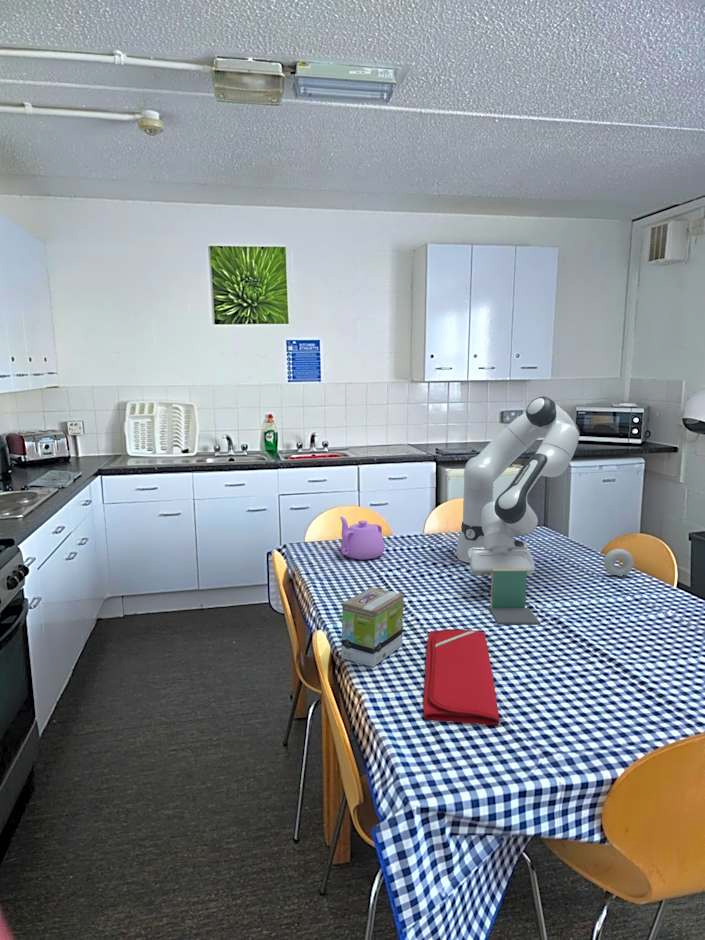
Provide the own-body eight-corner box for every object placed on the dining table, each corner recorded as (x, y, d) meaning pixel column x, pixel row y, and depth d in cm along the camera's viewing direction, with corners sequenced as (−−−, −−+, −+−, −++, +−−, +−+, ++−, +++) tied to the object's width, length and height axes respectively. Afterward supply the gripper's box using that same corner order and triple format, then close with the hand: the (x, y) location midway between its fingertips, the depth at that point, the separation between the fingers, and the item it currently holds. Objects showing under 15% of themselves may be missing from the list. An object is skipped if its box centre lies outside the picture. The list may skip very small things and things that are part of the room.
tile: (490, 606, 193) (491, 568, 191) (523, 606, 193) (524, 568, 191) (492, 609, 191) (493, 571, 189) (525, 609, 191) (526, 571, 189)
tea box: (375, 668, 153) (375, 610, 150) (340, 659, 158) (340, 602, 156) (403, 646, 165) (404, 592, 163) (370, 637, 171) (370, 585, 168)
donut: (604, 577, 220) (606, 549, 218) (601, 574, 223) (603, 547, 221) (634, 578, 219) (636, 550, 217) (631, 575, 222) (632, 547, 220)
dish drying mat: (422, 722, 130) (422, 705, 130) (427, 639, 170) (427, 626, 170) (499, 728, 128) (500, 711, 127) (486, 643, 168) (486, 629, 168)
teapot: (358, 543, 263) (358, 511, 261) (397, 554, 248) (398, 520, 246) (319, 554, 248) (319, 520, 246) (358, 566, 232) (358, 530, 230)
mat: (489, 609, 190) (489, 608, 190) (529, 609, 190) (529, 607, 190) (497, 624, 179) (497, 622, 179) (539, 624, 179) (539, 622, 179)
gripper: (468, 542, 202) (473, 582, 193) (531, 542, 202) (539, 582, 193) (465, 552, 207) (470, 591, 199) (527, 552, 207) (534, 590, 199)
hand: (504, 586), depth 196 cm, fingers closed
